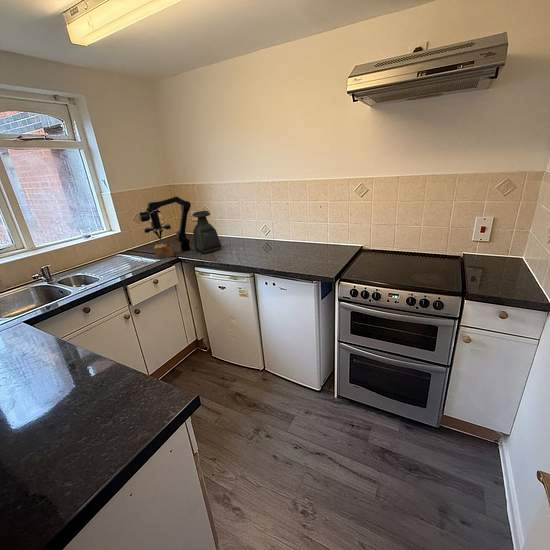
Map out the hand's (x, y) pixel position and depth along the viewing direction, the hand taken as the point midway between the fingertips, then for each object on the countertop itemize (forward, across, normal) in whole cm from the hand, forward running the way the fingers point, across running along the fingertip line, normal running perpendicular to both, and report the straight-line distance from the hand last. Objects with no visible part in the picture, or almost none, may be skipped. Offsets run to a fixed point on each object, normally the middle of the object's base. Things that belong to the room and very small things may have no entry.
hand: (160, 239), depth 228 cm
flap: (+5, +2, 0) cm, 6 cm away
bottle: (+13, -33, +9) cm, 37 cm away
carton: (+13, -1, 0) cm, 13 cm away
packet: (+9, -3, 0) cm, 9 cm away
